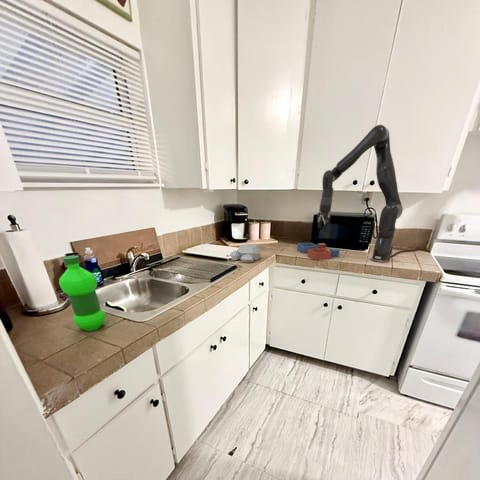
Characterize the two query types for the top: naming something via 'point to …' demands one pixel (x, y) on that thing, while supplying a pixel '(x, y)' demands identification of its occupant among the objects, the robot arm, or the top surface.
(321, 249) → the red bin
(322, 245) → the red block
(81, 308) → the plastic bottle
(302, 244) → the blue bin
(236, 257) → the rock
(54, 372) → the top surface
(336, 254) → the blue block
